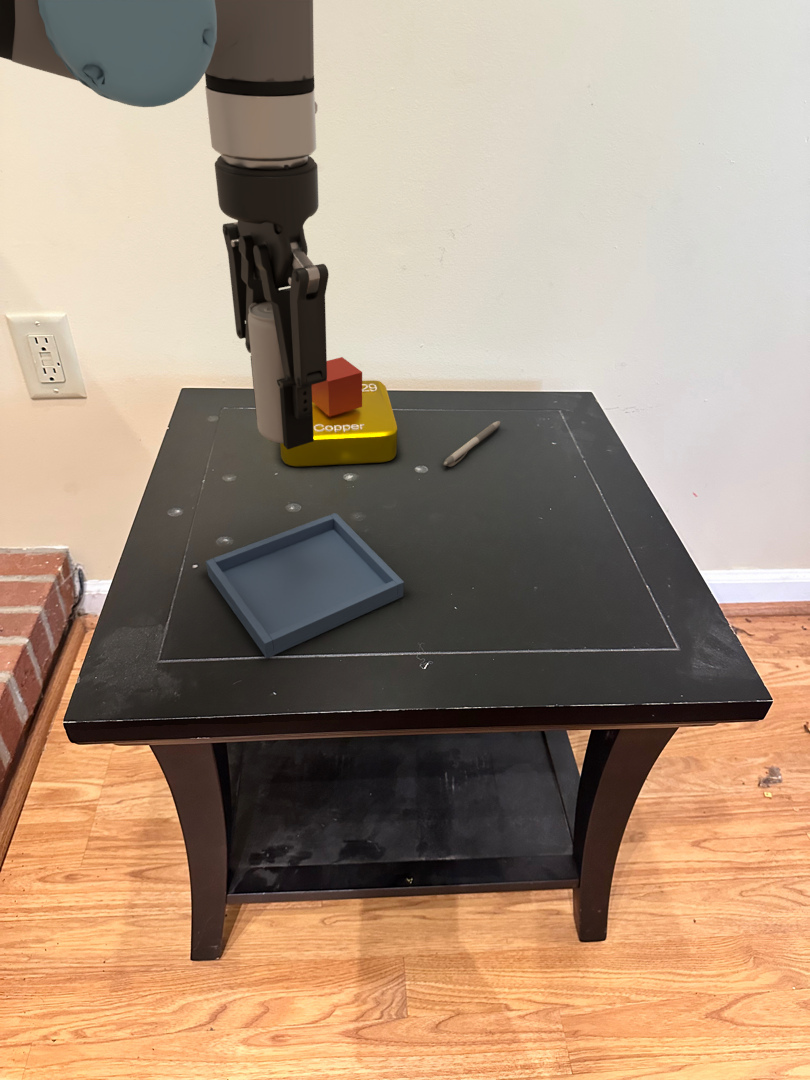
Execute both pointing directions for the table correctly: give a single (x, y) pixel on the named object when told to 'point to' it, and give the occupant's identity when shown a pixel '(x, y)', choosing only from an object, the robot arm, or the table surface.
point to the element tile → (350, 433)
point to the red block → (339, 388)
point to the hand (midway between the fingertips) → (284, 429)
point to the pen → (470, 444)
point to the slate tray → (303, 583)
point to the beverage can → (266, 370)
